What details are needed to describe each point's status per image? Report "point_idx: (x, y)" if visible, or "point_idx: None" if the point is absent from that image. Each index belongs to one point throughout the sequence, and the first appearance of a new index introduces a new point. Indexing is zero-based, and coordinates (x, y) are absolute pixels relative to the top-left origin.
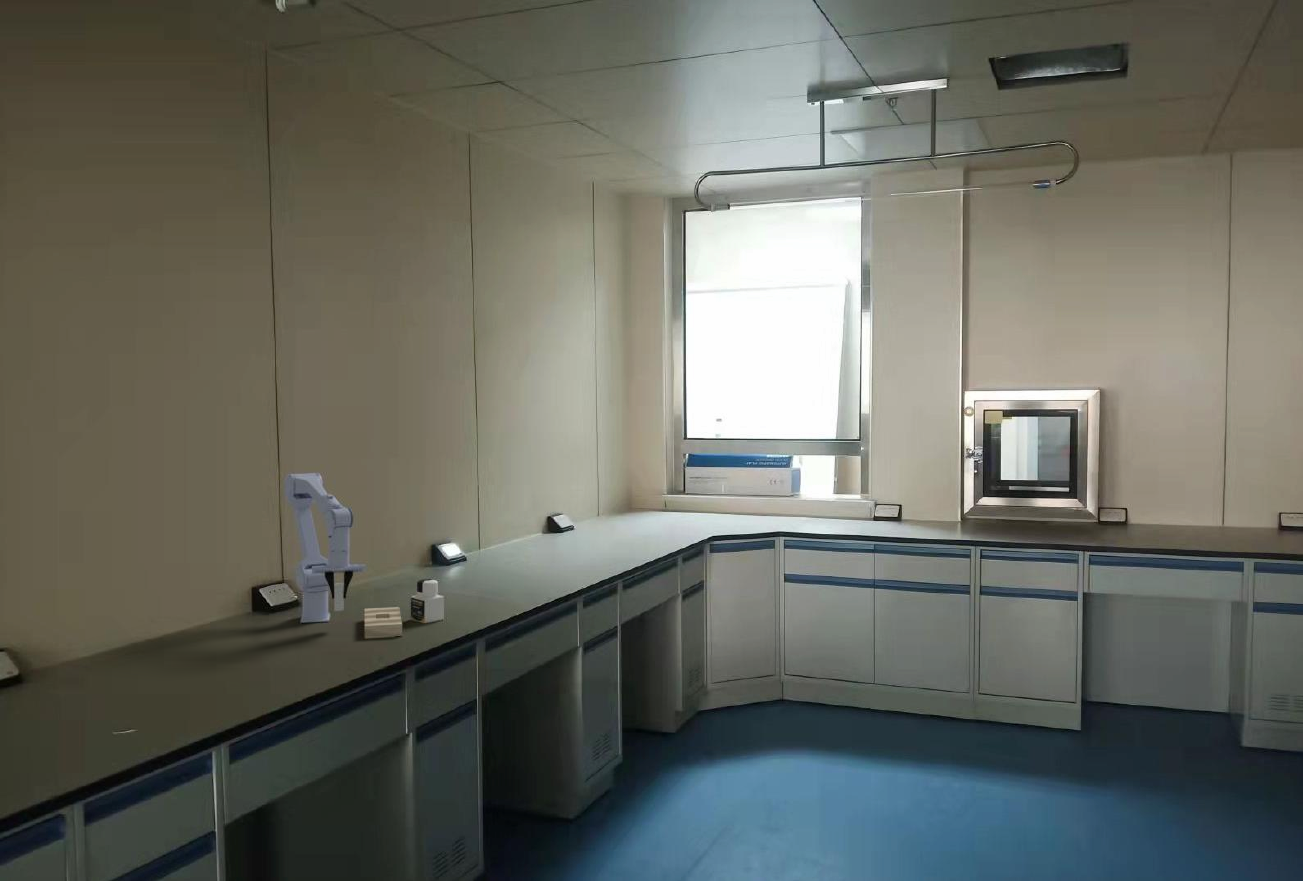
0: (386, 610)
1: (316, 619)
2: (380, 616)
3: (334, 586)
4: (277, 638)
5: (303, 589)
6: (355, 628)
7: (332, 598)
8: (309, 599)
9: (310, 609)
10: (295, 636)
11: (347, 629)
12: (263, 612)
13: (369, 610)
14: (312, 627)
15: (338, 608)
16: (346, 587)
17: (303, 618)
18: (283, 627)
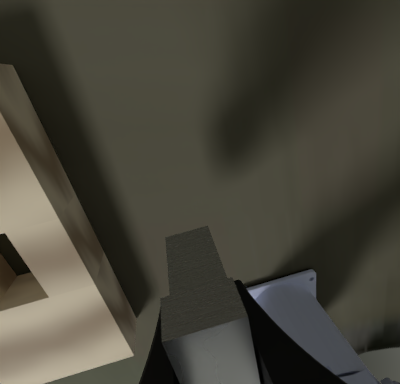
0: (36, 350)
1: (274, 287)
2: (33, 294)
3: (253, 349)
4: (376, 72)
5: (387, 378)
6: (129, 229)
7: (238, 280)
8: (333, 342)
9: (308, 310)
10: (317, 104)
11: (153, 214)
12: (394, 336)
13: (105, 339)
14: (274, 228)
15: (189, 237)
16: (152, 373)
17: (310, 292)
18: (355, 220)
